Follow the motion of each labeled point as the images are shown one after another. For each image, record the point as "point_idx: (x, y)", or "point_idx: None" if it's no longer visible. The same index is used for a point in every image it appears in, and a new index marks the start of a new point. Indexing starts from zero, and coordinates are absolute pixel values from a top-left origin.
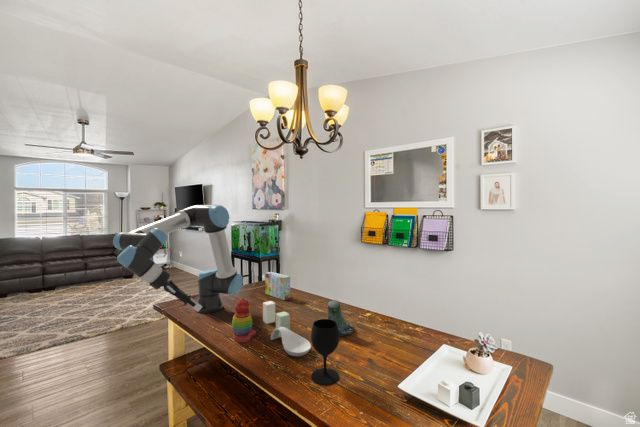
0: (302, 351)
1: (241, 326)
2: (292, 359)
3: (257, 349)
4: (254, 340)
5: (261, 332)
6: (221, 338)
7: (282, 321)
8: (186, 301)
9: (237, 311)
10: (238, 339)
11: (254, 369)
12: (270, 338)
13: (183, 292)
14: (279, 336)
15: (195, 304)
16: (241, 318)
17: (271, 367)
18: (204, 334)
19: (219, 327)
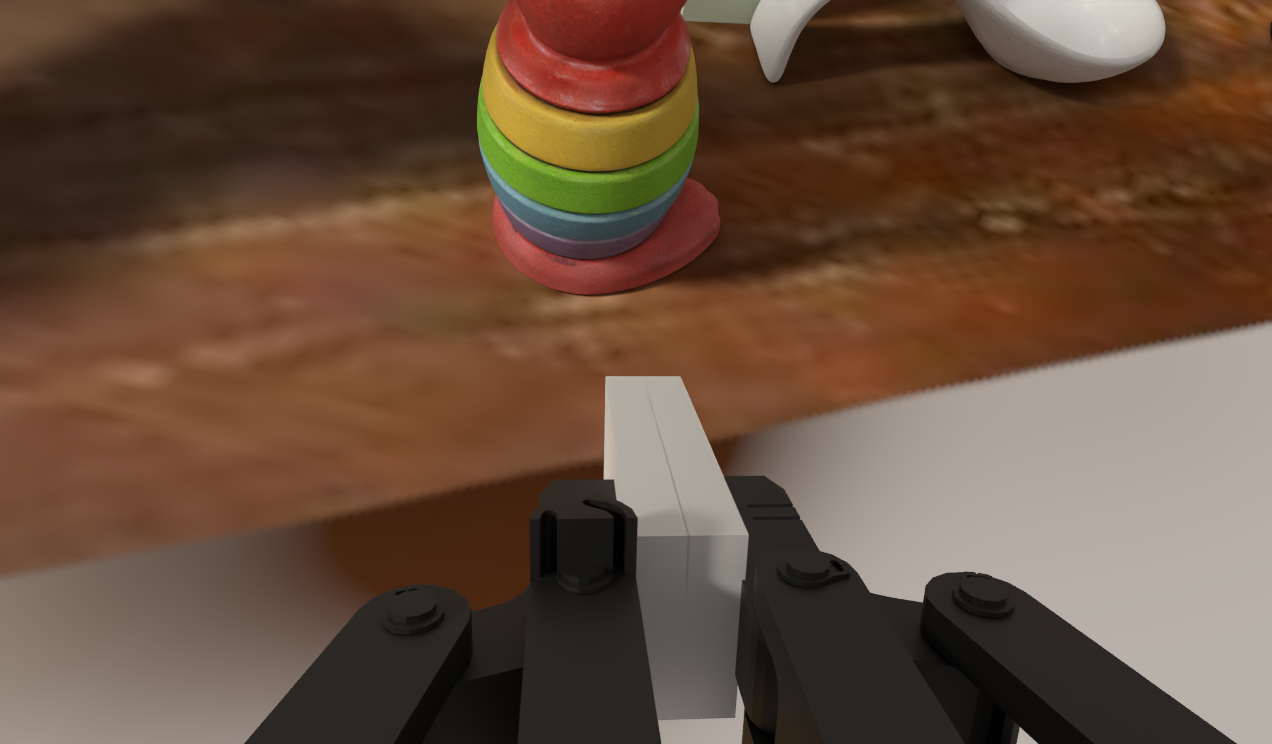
0: (1062, 12)
1: (692, 154)
2: (1112, 95)
3: (878, 207)
4: (712, 172)
5: None
6: (498, 377)
7: None
8: (1013, 731)
9: (637, 43)
10: (668, 263)
11: (1170, 323)
12: (774, 76)
13: (395, 741)
14: (748, 22)
15: (767, 487)
16: (688, 85)
17: (1175, 227)
18: (271, 500)
19: (211, 323)
